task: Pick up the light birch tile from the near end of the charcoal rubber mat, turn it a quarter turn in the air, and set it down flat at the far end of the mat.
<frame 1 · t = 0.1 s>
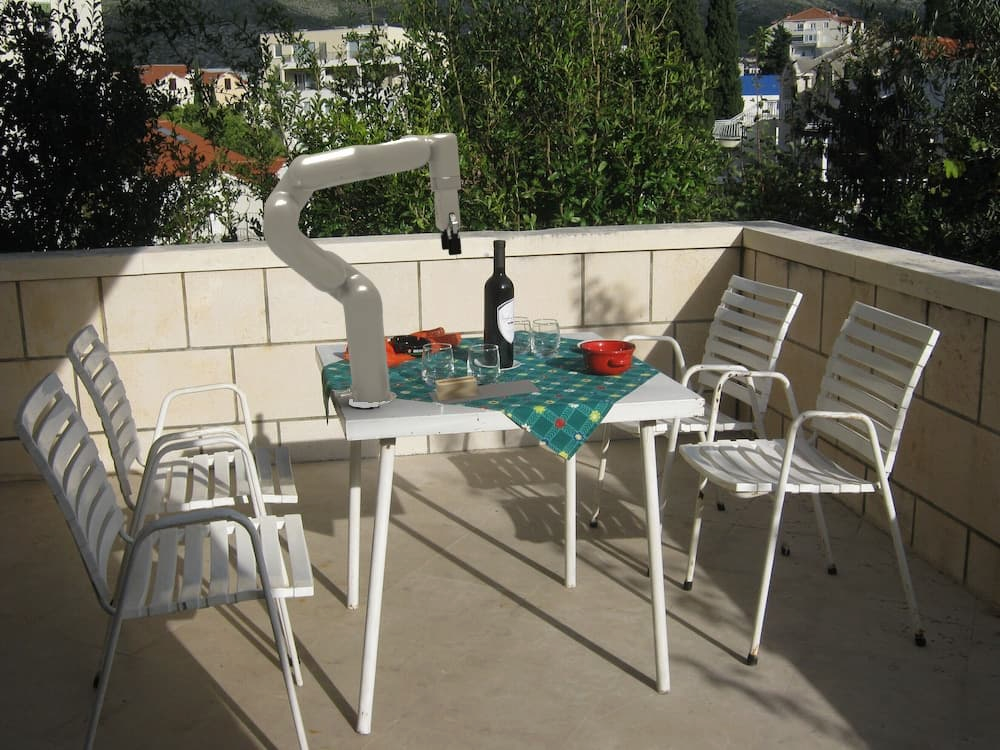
hand: (451, 251, 272), 36 cm above the table, tool pointing down, fingers open, 9 cm apart
rubber mat: (484, 394, 276), on the table
birch tile: (457, 395, 275), point 1 cm above the table, touching rubber mat
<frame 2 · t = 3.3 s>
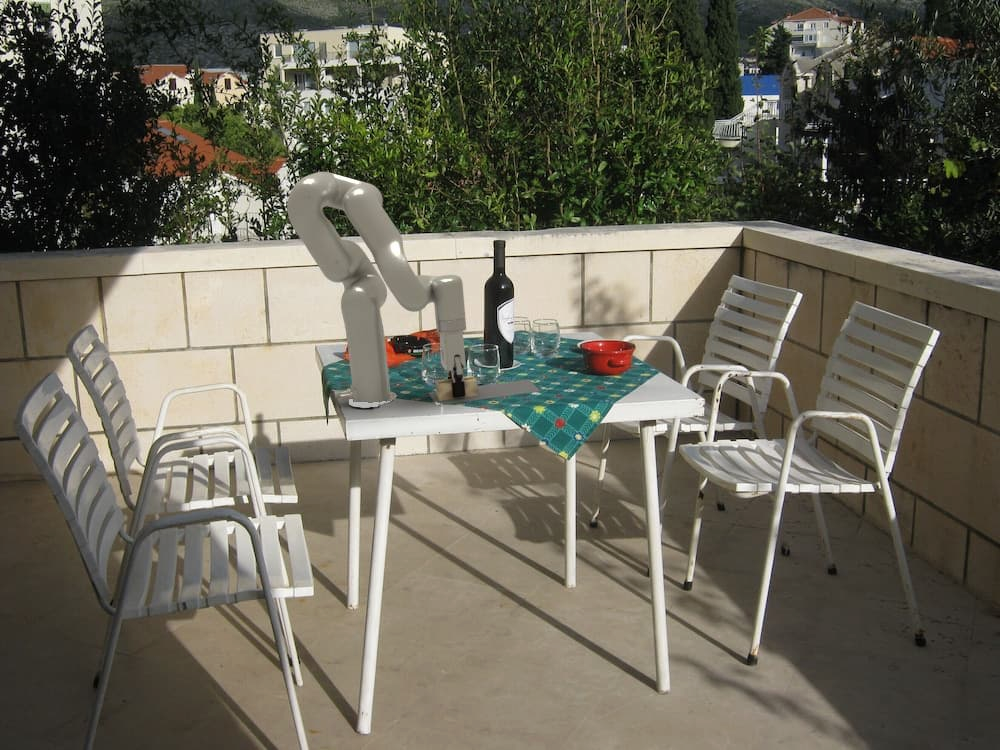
hand: (457, 393, 275), 1 cm above the table, tool pointing down, fingers closed on birch tile, 5 cm apart
birch tile: (457, 395, 275), point 1 cm above the table, touching gripper, rubber mat
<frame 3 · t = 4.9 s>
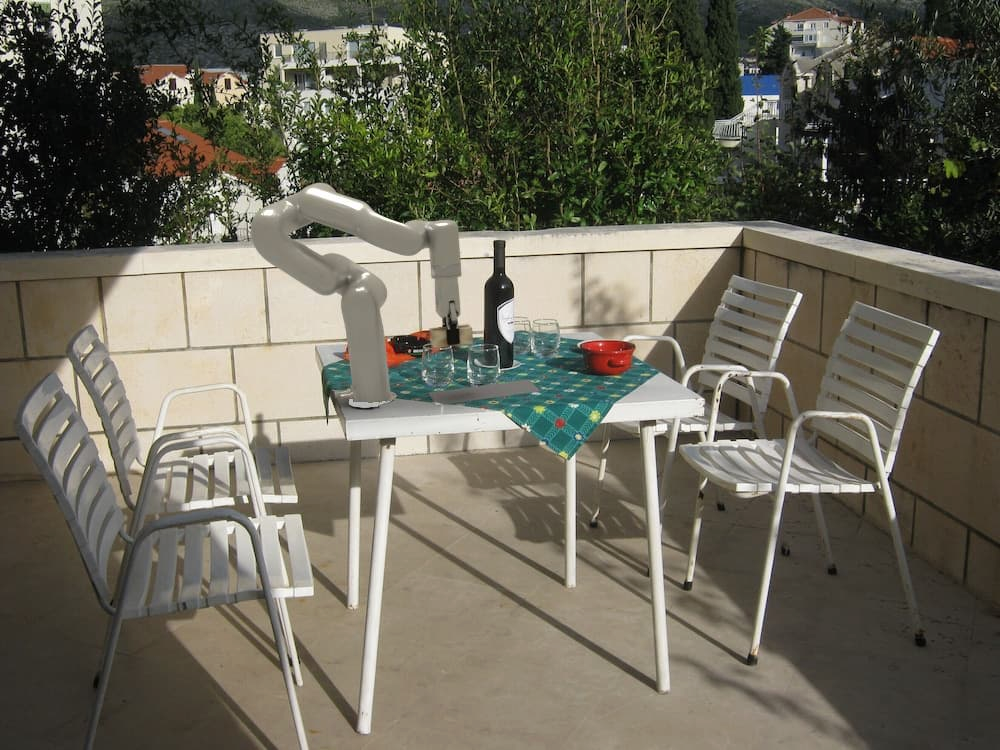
hand: (451, 341, 271), 15 cm above the table, tool pointing down, fingers closed on birch tile, 5 cm apart
birch tile: (451, 343, 271), point 14 cm above the table, touching gripper
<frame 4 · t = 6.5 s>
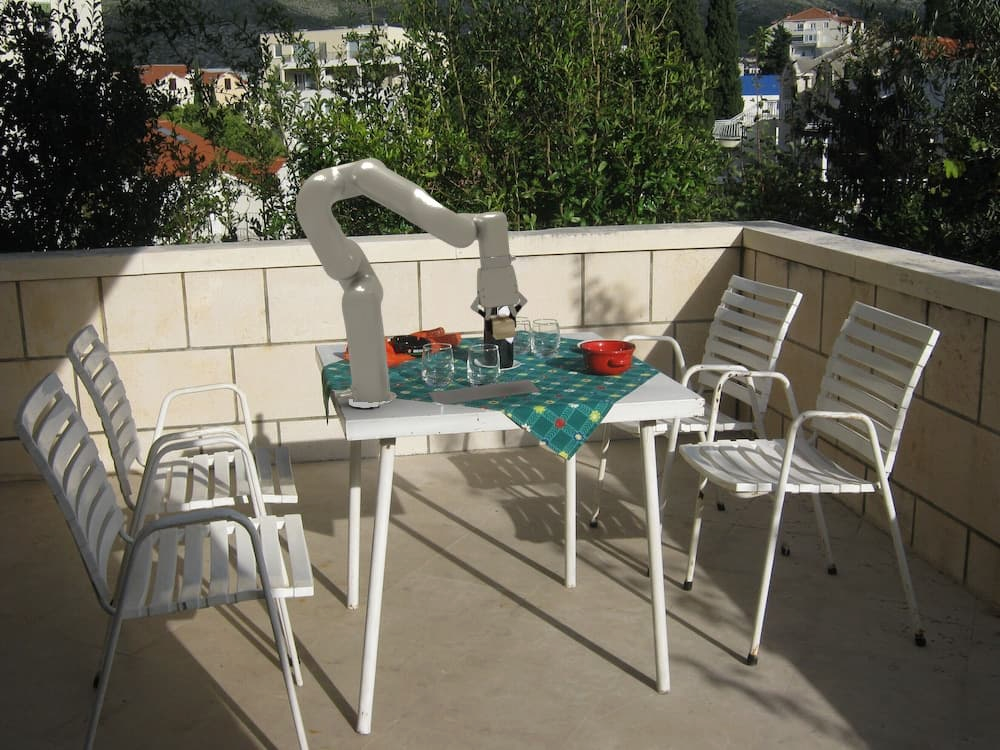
hand: (501, 331, 273), 16 cm above the table, tool pointing down, fingers closed on birch tile, 5 cm apart
birch tile: (501, 334, 273), point 15 cm above the table, touching gripper
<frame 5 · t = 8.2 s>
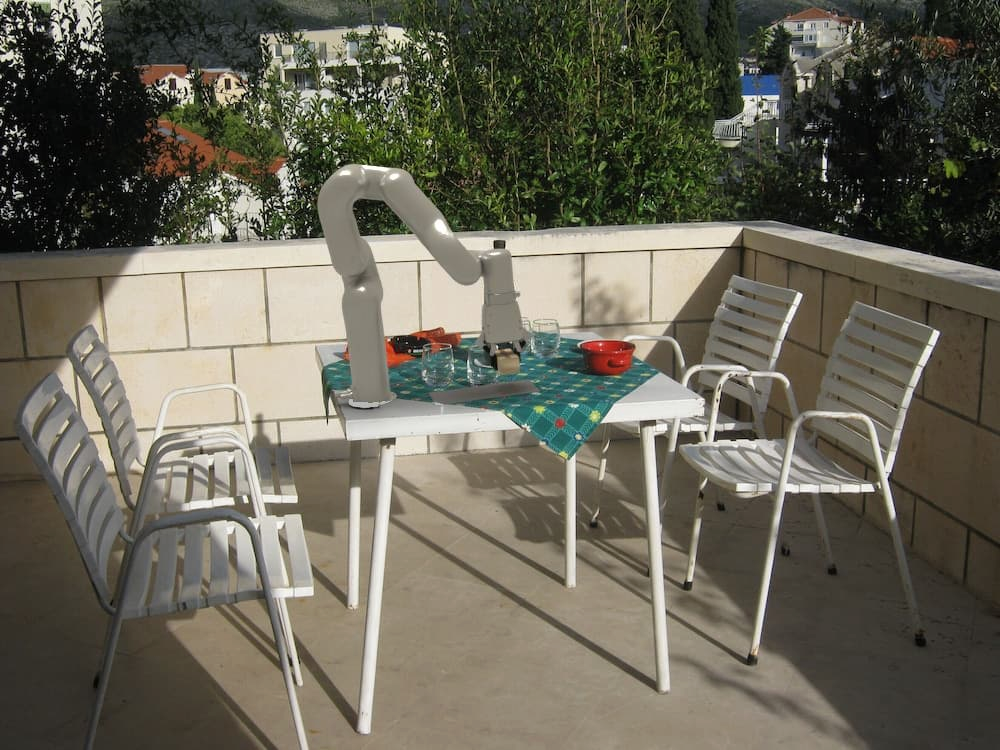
hand: (506, 366, 276), 6 cm above the table, tool pointing down, fingers closed on birch tile, 5 cm apart
birch tile: (506, 369, 276), point 6 cm above the table, touching gripper
when the fingers open (3 cm above the table, at t = 9.7 s): birch tile drops 2 cm, resting on rubber mat.
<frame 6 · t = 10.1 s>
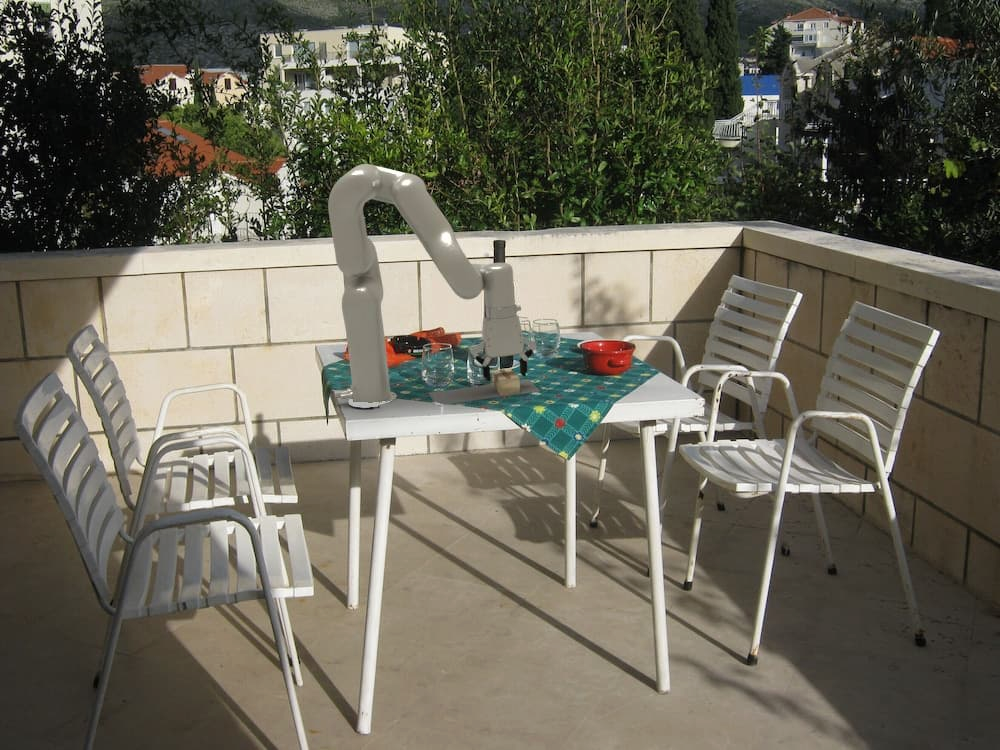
hand: (505, 377, 277), 4 cm above the table, tool pointing down, fingers open, 9 cm apart
birch tile: (506, 388, 277), point 1 cm above the table, touching rubber mat
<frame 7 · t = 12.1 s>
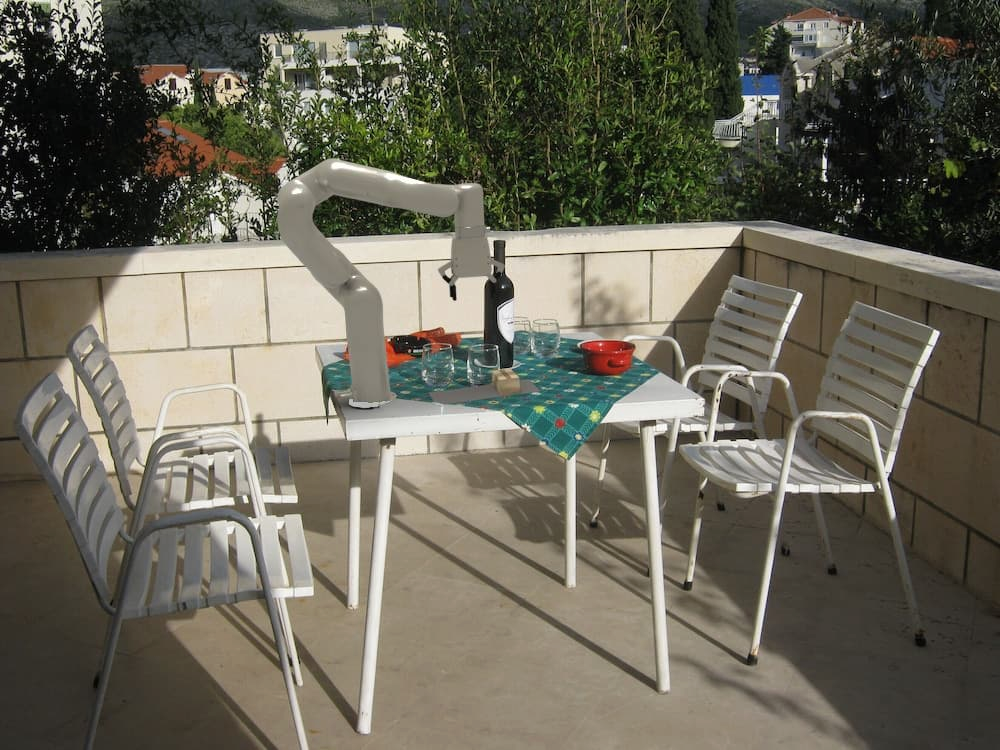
hand: (472, 298, 279), 23 cm above the table, tool pointing down, fingers open, 9 cm apart
nothing on the table moved.
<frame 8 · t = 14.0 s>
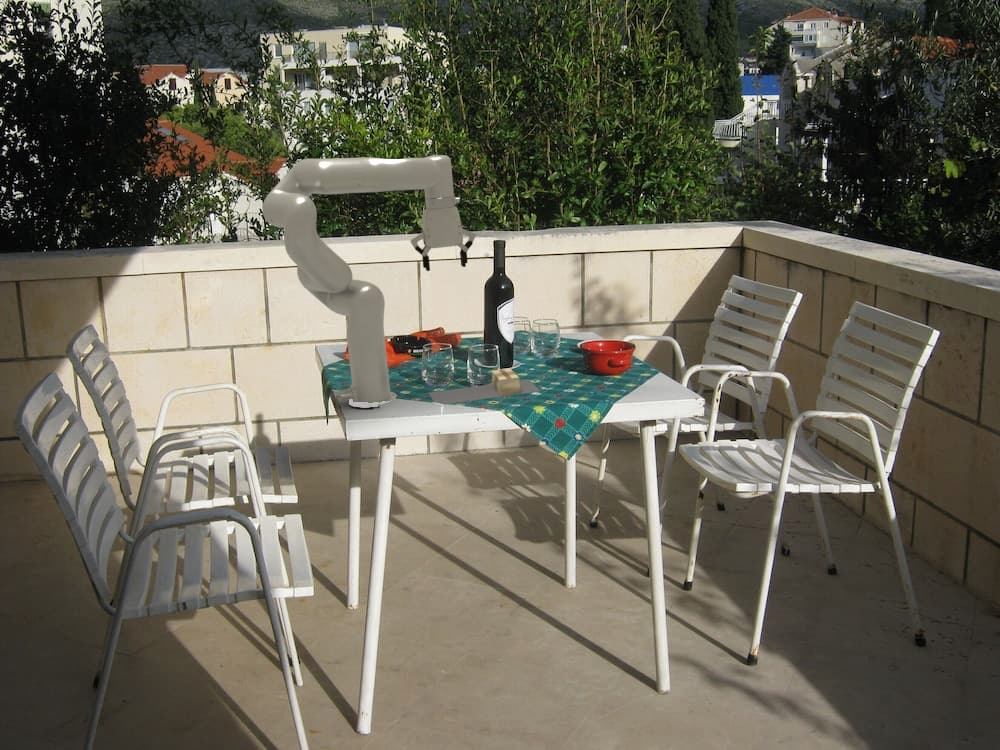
hand: (445, 268, 285), 30 cm above the table, tool pointing down, fingers open, 9 cm apart
nothing on the table moved.
at the end: birch tile inside the target area on the rubber mat (0.1 cm from its centre), point 0.6 cm above the rubber mat's base; birch tile tilted 0°; the gripper is holding nothing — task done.
